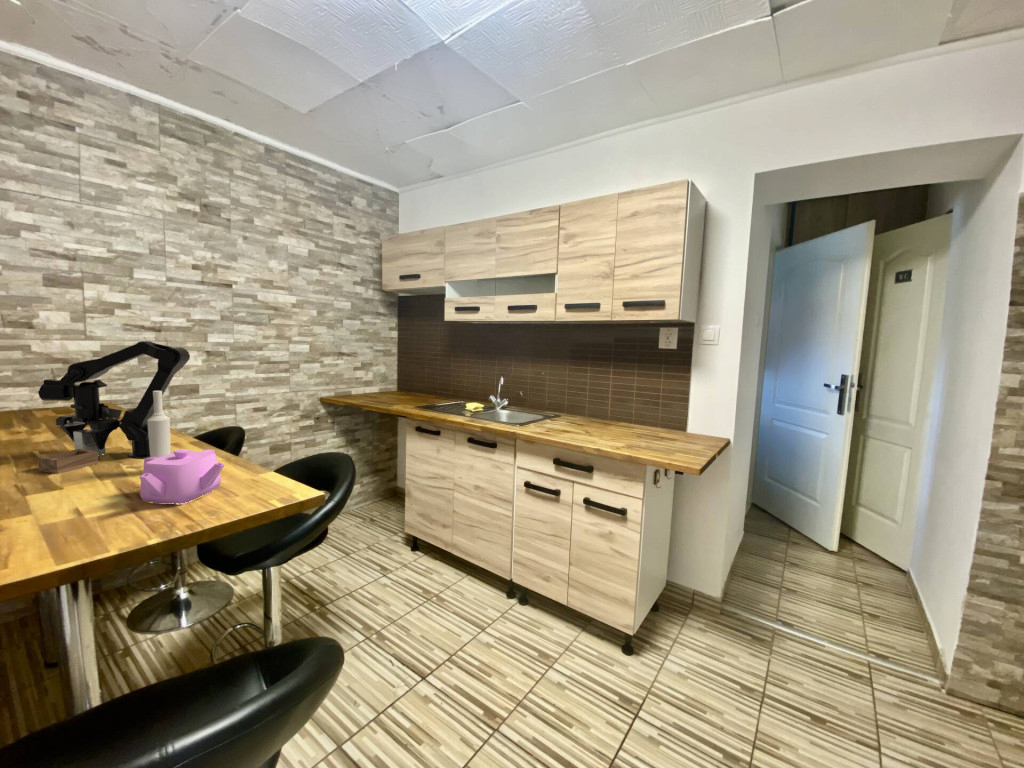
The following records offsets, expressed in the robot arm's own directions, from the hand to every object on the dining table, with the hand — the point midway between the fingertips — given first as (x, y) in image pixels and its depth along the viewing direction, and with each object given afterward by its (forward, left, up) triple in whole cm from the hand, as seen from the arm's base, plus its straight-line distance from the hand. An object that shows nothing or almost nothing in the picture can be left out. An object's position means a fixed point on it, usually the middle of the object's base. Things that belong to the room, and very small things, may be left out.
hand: (90, 447), depth 132 cm
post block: (-6, +9, -3) cm, 11 cm away
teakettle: (-55, +14, -3) cm, 57 cm away
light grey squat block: (0, 0, -3) cm, 3 cm away
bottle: (-33, +3, -3) cm, 33 cm away
